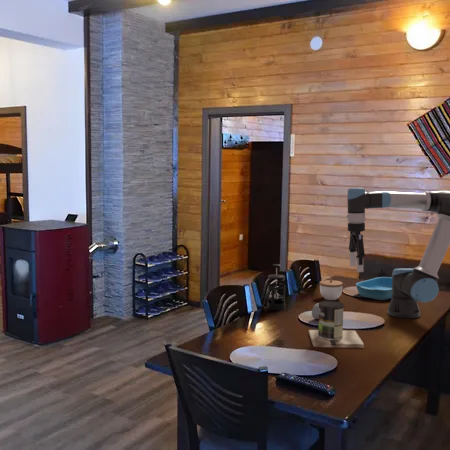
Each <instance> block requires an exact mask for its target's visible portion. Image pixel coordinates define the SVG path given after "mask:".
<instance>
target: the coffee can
mask: <svg viewBox="0 0 450 450" xmlns="http://www.w3.org/2000/svg"><path fill="white" fill-rule="evenodd" d="M318 303H319V320H318V329H317V330H318V337H320V338H322V339H325V340H340V339H342V338H343V330H344V307H345V305H344V303H343V302H341V301H337V300H323V301H320V302H318Z"/></svg>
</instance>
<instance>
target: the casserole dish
mask: <svg viewBox="0 0 450 450" xmlns="http://www.w3.org/2000/svg"><path fill="white" fill-rule="evenodd" d="M355 286H356V289H357V292H358V295H360V296H361V297H363V296H364V298H368V299H372V300H373V299H374V300H379V301H385V300H386V301H387V300H391V299H392V276H380V277H379V276H378V277H374V278H370V279H367V280H362V281H358V282H356V283H355Z"/></svg>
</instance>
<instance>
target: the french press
mask: <svg viewBox="0 0 450 450" xmlns="http://www.w3.org/2000/svg"><path fill="white" fill-rule="evenodd" d="M272 266H274V267H275V272H276V273H274V274H269V275H267V277H268V281H270V280H273V279H275V283H268V284H267V307H266V308H267V309H268V310H271V311H283V310H284V311H285V309H286V284H284V283H278V282H284V281H285V279H286V275H284V274H278V267H280V266H282V265H281V264H280V263H274V264H272ZM270 291H271V292H270ZM270 293H271V294H270Z"/></svg>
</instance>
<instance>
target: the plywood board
mask: <svg viewBox="0 0 450 450" xmlns="http://www.w3.org/2000/svg"><path fill="white" fill-rule="evenodd" d="M308 335H309V337H310V340H311V343H312V346H313V348H339V349H340V348H352V349H355V348H359V349H364V347H365V344H364V342H363V340H362V339H361V337H360V336H359V334H358V333H357V331H356V330H351V329H350V330H345V329H343V338H342V339H340V340H325V339H322V338H320V337H318V329H308Z"/></svg>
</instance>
